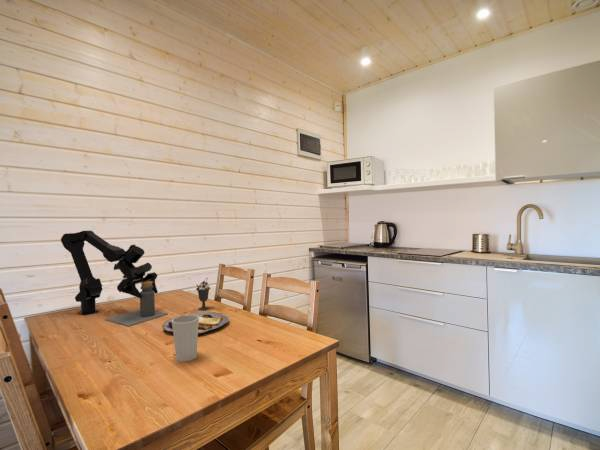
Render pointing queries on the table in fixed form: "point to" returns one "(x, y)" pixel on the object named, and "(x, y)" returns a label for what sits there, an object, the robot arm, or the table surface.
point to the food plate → (203, 321)
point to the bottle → (147, 299)
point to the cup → (185, 337)
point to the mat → (133, 318)
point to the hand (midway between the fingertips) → (149, 295)
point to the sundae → (203, 293)
